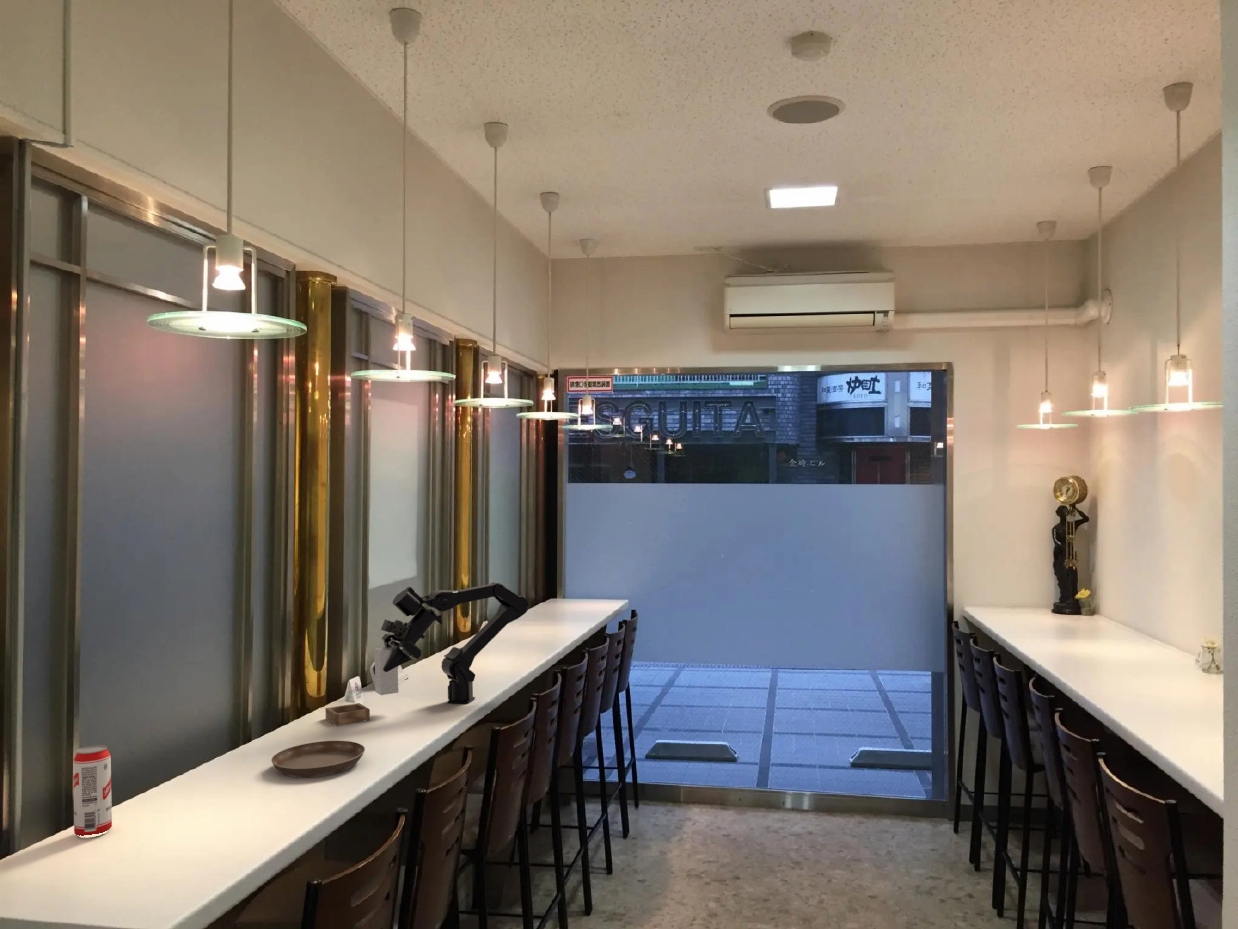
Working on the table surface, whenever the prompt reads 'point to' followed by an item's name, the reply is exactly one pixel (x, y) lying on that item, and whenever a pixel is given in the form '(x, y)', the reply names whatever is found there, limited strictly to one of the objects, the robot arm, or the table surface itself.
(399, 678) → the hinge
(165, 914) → the table surface
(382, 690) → the grey block
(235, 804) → the table surface
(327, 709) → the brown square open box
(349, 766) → the plant saucer
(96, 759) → the beer can
